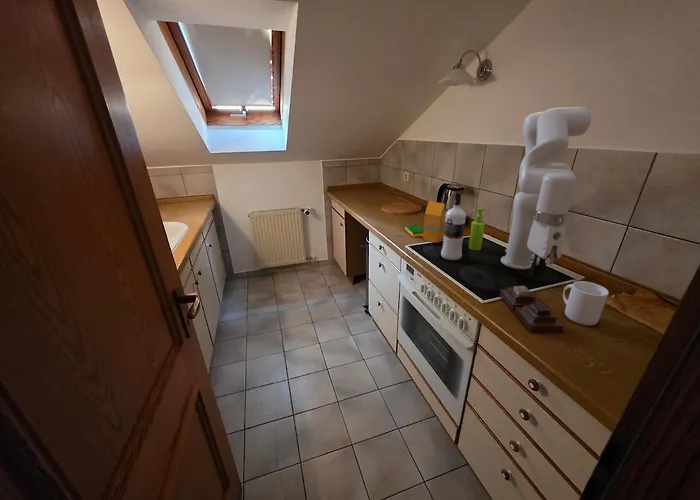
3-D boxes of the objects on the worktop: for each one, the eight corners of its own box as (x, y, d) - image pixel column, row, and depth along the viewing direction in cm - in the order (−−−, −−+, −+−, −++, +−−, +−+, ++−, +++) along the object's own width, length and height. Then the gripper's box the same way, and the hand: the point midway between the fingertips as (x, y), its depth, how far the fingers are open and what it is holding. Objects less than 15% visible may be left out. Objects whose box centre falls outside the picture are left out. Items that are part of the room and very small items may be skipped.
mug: (570, 302, 101) (579, 274, 97) (605, 324, 90) (616, 293, 86) (548, 306, 99) (556, 277, 95) (581, 328, 88) (591, 297, 84)
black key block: (514, 312, 97) (516, 302, 95) (542, 312, 96) (545, 301, 95) (531, 332, 88) (533, 321, 86) (562, 331, 87) (565, 320, 86)
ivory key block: (499, 294, 107) (501, 284, 105) (524, 294, 107) (526, 284, 105) (512, 310, 98) (515, 300, 96) (540, 310, 97) (543, 299, 96)
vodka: (466, 258, 135) (474, 193, 124) (450, 262, 132) (457, 195, 120) (451, 251, 143) (458, 189, 131) (436, 255, 140) (442, 191, 128)
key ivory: (513, 290, 102) (513, 286, 102) (523, 290, 102) (524, 285, 102) (518, 296, 99) (519, 291, 98) (529, 295, 99) (530, 291, 98)
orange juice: (429, 235, 164) (432, 199, 157) (444, 238, 159) (448, 202, 151) (422, 239, 159) (425, 202, 151) (438, 243, 154) (441, 205, 146)
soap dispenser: (485, 250, 143) (491, 210, 135) (470, 250, 144) (475, 210, 136) (480, 245, 149) (486, 206, 141) (466, 245, 149) (471, 206, 141)
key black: (530, 308, 92) (531, 304, 92) (542, 308, 92) (543, 303, 92) (536, 315, 89) (538, 310, 88) (549, 315, 89) (550, 310, 88)
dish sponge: (416, 228, 176) (416, 224, 175) (425, 236, 163) (425, 232, 163) (404, 229, 175) (405, 225, 174) (413, 237, 162) (413, 233, 162)
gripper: (581, 225, 78) (563, 286, 85) (547, 210, 92) (535, 264, 99) (552, 225, 78) (537, 287, 85) (522, 211, 92) (512, 264, 99)
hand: (536, 274), depth 92 cm, fingers closed
